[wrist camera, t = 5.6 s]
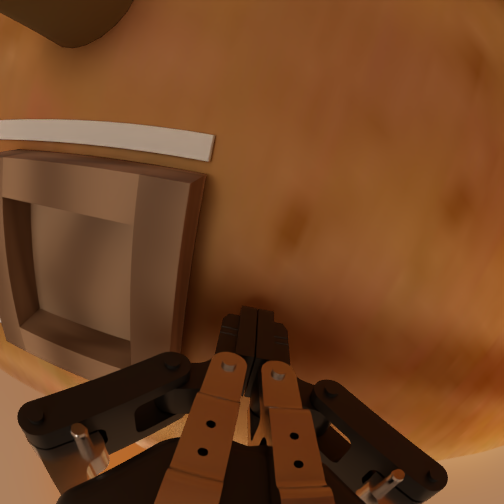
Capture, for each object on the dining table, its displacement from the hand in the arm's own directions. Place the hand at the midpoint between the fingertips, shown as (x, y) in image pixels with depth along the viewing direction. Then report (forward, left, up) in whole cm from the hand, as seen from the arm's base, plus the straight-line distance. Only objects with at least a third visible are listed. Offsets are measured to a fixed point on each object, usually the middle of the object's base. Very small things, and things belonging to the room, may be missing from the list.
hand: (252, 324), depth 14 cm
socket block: (+9, 0, -2) cm, 10 cm away
